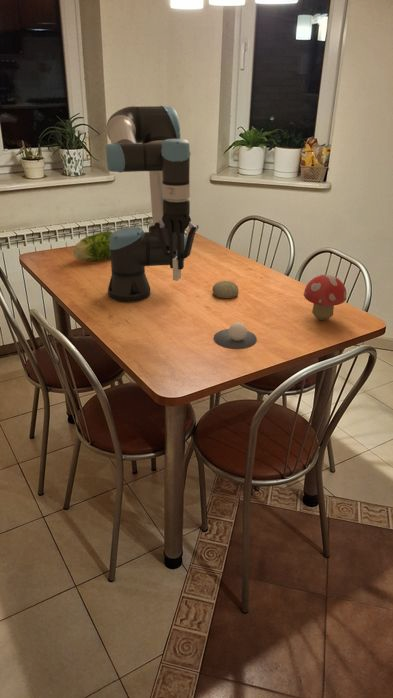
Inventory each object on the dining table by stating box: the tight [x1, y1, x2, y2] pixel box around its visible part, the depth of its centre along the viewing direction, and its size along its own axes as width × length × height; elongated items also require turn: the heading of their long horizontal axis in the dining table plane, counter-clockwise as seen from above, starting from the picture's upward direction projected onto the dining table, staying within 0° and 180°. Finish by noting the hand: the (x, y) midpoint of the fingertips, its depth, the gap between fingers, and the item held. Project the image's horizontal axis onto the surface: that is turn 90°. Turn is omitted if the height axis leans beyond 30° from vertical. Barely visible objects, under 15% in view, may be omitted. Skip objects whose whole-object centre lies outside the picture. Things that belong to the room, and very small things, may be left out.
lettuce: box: [72, 230, 114, 262], centre depth 220 cm, size 12×21×11 cm, turn 129°
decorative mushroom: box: [303, 274, 347, 321], centre depth 169 cm, size 13×13×15 cm
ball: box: [228, 322, 248, 341], centre depth 158 cm, size 6×6×6 cm
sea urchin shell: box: [212, 280, 239, 299], centre depth 190 cm, size 9×8×8 cm
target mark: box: [213, 328, 258, 350], centre depth 160 cm, size 13×13×1 cm
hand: (177, 278), depth 158 cm, fingers closed
